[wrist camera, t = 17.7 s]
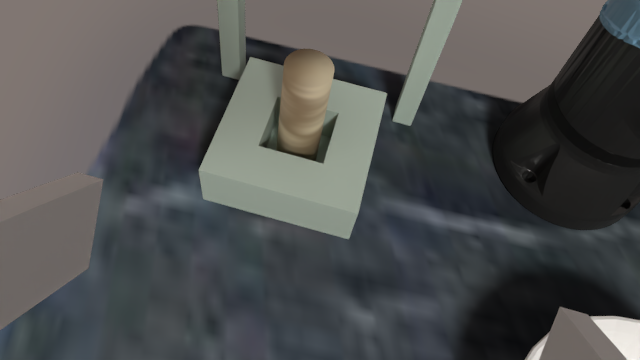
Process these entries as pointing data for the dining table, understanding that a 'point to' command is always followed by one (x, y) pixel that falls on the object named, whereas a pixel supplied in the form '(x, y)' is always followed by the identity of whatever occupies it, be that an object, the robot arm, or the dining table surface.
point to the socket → (336, 139)
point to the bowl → (626, 334)
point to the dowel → (304, 102)
